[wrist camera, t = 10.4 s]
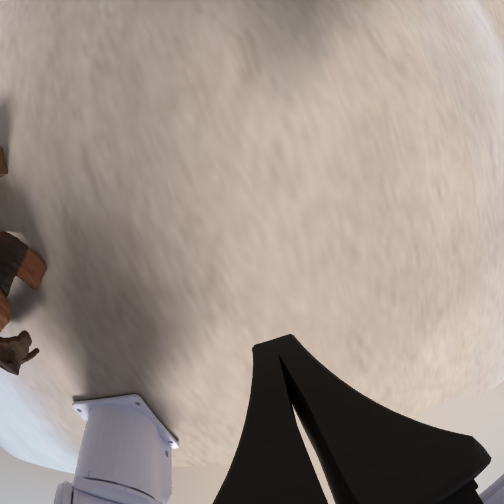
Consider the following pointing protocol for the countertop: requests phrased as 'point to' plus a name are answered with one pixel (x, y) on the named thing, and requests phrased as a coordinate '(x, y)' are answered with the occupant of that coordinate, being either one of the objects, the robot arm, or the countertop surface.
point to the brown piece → (3, 272)
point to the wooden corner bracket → (2, 164)
